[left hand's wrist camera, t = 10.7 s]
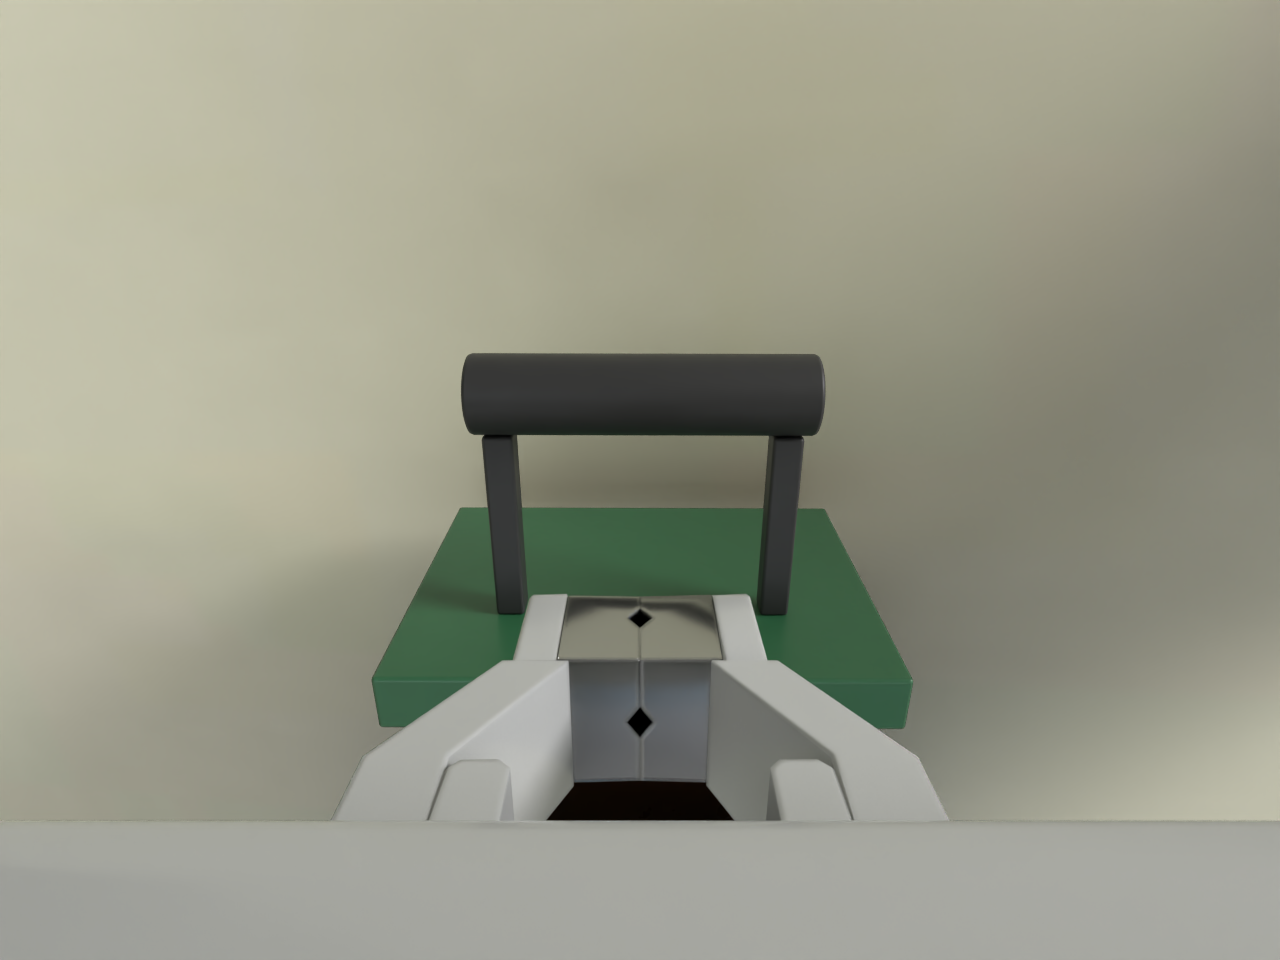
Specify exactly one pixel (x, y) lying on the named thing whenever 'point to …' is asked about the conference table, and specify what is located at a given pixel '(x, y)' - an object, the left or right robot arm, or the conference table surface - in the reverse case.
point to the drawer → (643, 545)
